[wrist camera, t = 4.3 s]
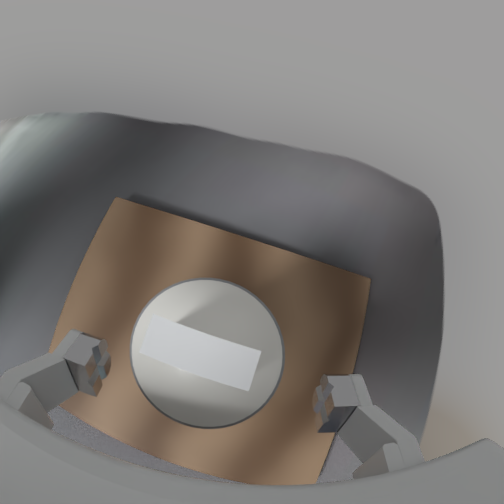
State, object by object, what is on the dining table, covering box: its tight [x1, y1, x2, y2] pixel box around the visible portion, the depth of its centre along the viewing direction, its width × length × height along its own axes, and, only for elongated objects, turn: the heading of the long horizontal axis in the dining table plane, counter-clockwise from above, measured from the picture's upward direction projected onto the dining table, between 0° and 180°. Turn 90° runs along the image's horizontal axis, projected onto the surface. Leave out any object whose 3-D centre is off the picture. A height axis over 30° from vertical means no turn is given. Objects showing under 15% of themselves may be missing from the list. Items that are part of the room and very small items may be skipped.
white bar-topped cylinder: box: [130, 278, 285, 429], centre depth 10 cm, size 5×5×11 cm
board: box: [48, 197, 371, 485], centre depth 16 cm, size 20×16×1 cm
